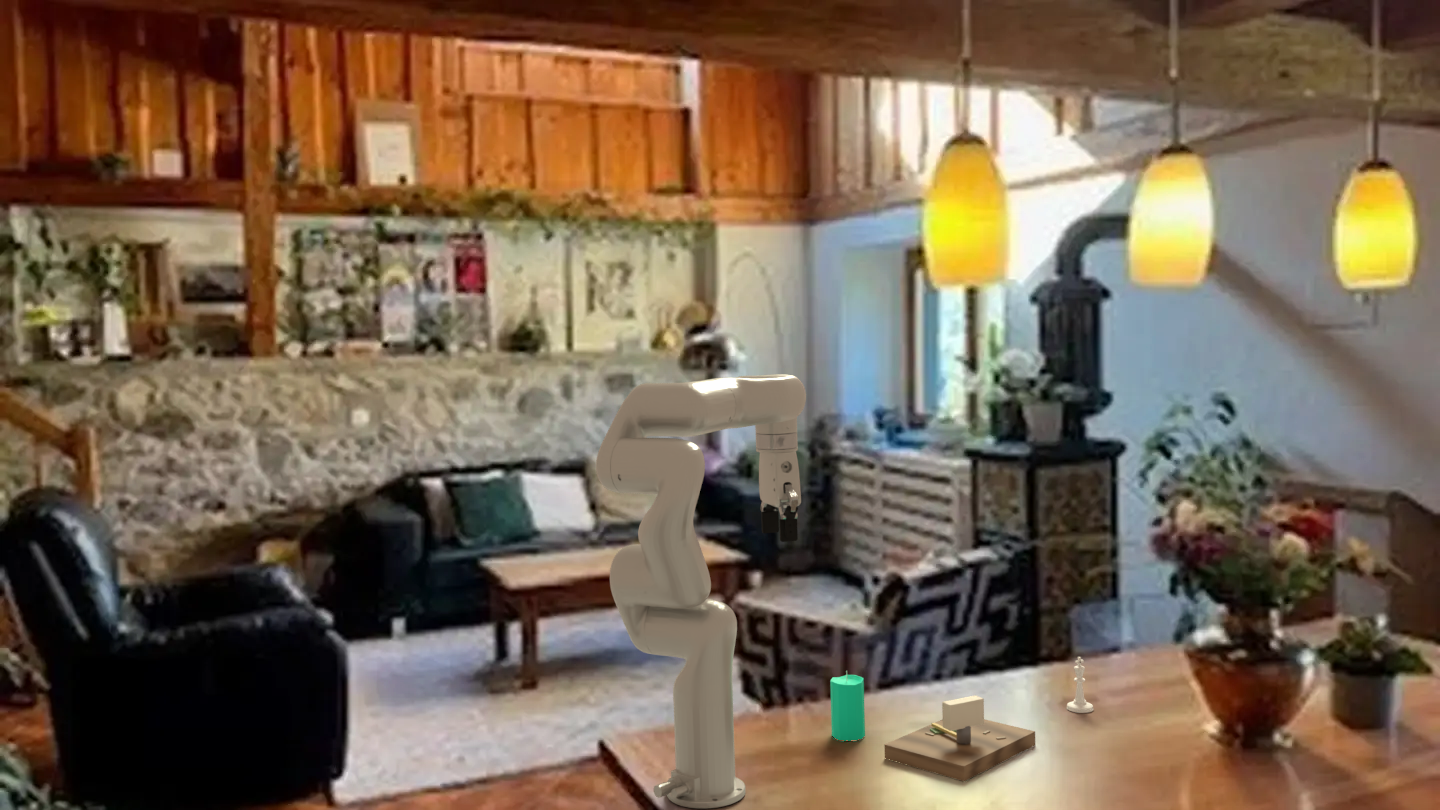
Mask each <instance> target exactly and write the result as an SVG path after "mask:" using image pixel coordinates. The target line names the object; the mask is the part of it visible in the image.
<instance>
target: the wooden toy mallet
mask: <svg viewBox="0 0 1440 810" xmlns="http://www.w3.org/2000/svg"><path fill="white" fill-rule="evenodd" d="M984 702H985V699H984V698H983V697H980V696H979V695H976V694H975V695H971V696H964V697H961V698H955V699H949V700H945V701H942V702H941V703H942V704H941V706H942V707H941V708H942V709H941V710H942V712H941V713H942V714H941V715H942V719H943V726H941V725H939V724H936V723H935V722H931V724H932V727H934V728H936V729H939V730H941V731H943V732H945V733H947V734H949V735H951V736H953V737H955V738H957V743H959V744H969V743H971V727H972V726H977V725H982V724H984V719H985V703H984ZM931 724H930V725H931ZM953 730H956V732H954V731H953Z"/></svg>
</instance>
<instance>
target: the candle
mask: <svg viewBox="0 0 1440 810" xmlns="http://www.w3.org/2000/svg"><path fill="white" fill-rule="evenodd" d="M845 673H846V674H845V675H842V676H837V677H835V676H834V677H832V678H831V679H830V681H829V682H830V685H829V687H830V689H829V690H830V712H831V713H830V717H831V718H830V723H831V737H832V736H833V737H834V738H836V739H838V740H844V741H846V740H848V741H851V740H858V739H862V738H863V737H864V736H865V737H866V723H865V715H866V713H865V682H864V680H865V679H864V677H862V676H859V675H857V674H848V670H846V671H845ZM833 737H832V738H833ZM865 737H864V738H865ZM834 738H833V739H834ZM864 738H863V739H864ZM863 739H862V740H863ZM838 740H837V741H838ZM844 741H843V742H844Z"/></svg>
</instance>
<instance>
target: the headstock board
mask: <svg viewBox="0 0 1440 810" xmlns="http://www.w3.org/2000/svg"><path fill="white" fill-rule="evenodd" d="M934 723H936V724H939V725H941V726H943V718H942V719H939V720H938V721H935V722H934ZM953 731H954V732H956V730H953ZM1035 746H1036V731H1035V730H1030V729H1027V728H1024V727H1023V728H1022V727H1019V726H1013V725H1011V724H1010V725H1009V724H1006V723H1002V722H1001V723H1000V722H998V721H993V720H988V719H985V718H984V724H982V725H977V726H972V727H971V743H969V744H959V743H957V738H955V737H953V736H951V735H949V734H947V733H945V732H943V731H941V730H939V729H936V728H934V727H932V724H929V725H927V726H924V727H922V728H920V729H917V730H915V731H913V732H910V733H908V734H906V735H903V736H901V737H898V738H896V739H893V740H892V741H890V742H887V743H885V744H884V746H883V747H884V759H885V758H886V759H885V760H887V759H890V760H889V761H891V760H893V761H892V762H894V761H897V762H896V763H898V762H900V763H899V764H901V763H902V765H905V764H907V765H906V766H908V765H909V766H908V767H912V768H916V769H920V770H923V771H925V772H930V773H933V774H936V775H937V774H938V775H940V776H944V777H948V778H951V779H955V780H958V781H962V782H965V781H967V780H969V779H972V778H973V777H976V776H978V775H980V774H982V773H984V772H985V771H988V770H989V769H991V768H994V767H996V766H998V765H1000V764H1001V763H1003V762H1005V761H1007V760H1009V759H1011V758H1014V757H1016V756H1017V755H1019V754H1021V753H1023V752H1026V751H1027V750H1029V749H1031V748H1034V747H1035Z"/></svg>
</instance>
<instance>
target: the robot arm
mask: <svg viewBox="0 0 1440 810" xmlns="http://www.w3.org/2000/svg"><path fill="white" fill-rule="evenodd" d="M806 400H807V392H806V388H805V385H804V384H803V382H802V381H801V380H800V379H799V378H798V377H797V376H795V375H792V374H791V375H790V374H784V373H783V374H782V373H779V374H776V373H775V374H763V375H762V374H761V375H760V374H759V375H739V376H735V377H716V378H715V377H714V378H709V379H702V380H695V381H685V382H657V383H656V382H646V383H642V384H638V385H636V386H635V387H634V388H633V389H632V390H631V391H630V392H629V393H628V395H627V396H626V398H624V400H623V402H622V403H621V405H620V407H619V408H618V411H616V414H615V416H614V417H613V420H612V422H611V424H610V426H609V428H608V430H607V433H605V436H604V438H603V440H602V441H601V444H600V447H599V450H598V453H597V455H596V456H597V457H596V462H595V463H596V464H595V473H596V476H597V479H598V481H599V483H600V484H601V486H602V487H603V488H605V489H606V490H607V491H610V492H613V493H617V494H637V495H640V494H642V495H656V497H655V499H654V501H653V503H652V505H651V506H650V507H649V508H648V510H647V511H646V512H645V514H644V515H643V518H642V520H641V521H640V523H639V527H638V531H637V534H638V542H639V544H638V543H637V544H630V545H626V546H625V547H622V548H621V549H620V550H619V551H617V552H616V554H615V555H614V557H613V559H612V561H611V564H610V570H609V587H610V591H611V595H612V598H613V601H614V603H615V606H616V608H617V610H618V613H619V615H620V618H621V620H622V622H623V625H624V627H625V629H626V632H627V634H628V636H629V640H631V642H632V644H633V646H634V647H635V648H636V649H637V650H638V651H640V652H642V653H644V654H648V655H649V654H650V655H655V656H663V657H672V658H673V657H674V658H679V659H684V660H685V665H684V667H682V669H681V671H680V672H679V673H678V675H677V676H676V677H675V680H674V683H673V687H672V700H673V728H674V756H675V759H674V760H675V769H673V770H671V771H670V778H668V780H667V781H666V782H665V781H664V782H661V783H658V784H656V785H654V786H653V793H654V796H655V797H656V798H657V799H659V798H663V797H665V796H666V797H667V799H668V800H669V801H670V802H672V803H673V804H676V805H678V806H680V807H684V808H689V809H700V810H702V809H716V808H721V807H726V806H727V807H728V806H730V805H732V804H735V803H738V801H741V800H742V799H743V798H744V796H745V795H746V784H745V782H744V780H742V779H740V778H738V777H736V760H735V759H736V757H735V756H736V755H735V730H734V729H735V724H734V694H733V693H734V691H733V669H734V668H733V667H734V666H733V665H734V664H733V663H734V653H735V648H736V647H735V646H736V641H737V640H736V639H737V635H738V634H737V633H738V632H737V631H738V620H737V617H736V614H735V612H734V610H733V609H732V608H731V607H730V606H729V605H728V604H726V603H724V602H722V601H720V600H719V601H718V600H716V599H713V598H709V596H710V593H711V590H712V589H711V588H712V581H711V577H710V576H711V575H710V571H709V569H708V565H707V561H706V560H705V557H704V553H703V550H702V548H701V546H700V545H701V544H700V543H699V540H698V537H697V534H696V530H695V527H694V518H695V510H696V507H697V504H698V500H699V496H700V491H701V489H702V484H703V482H704V477H705V471H706V461H705V456H704V453H703V450H702V449H701V448H700V446H699V445H697V444H696V443H694V442H692V441H690V440H686V439H682V438H683V437H684V438H686V437H688V438H689V437H697V436H700V435H705V434H710V433H713V432H718V431H719V432H720V431H723V430H729V429H740V428H749V427H753V426H754V427H755V450H756V451H755V452H757V453H759V459H758V461H759V462H758V491H759V498H760V499H759V500H760V502H761V504H760V511H761V512H760V514H761V515H760V516H761V533H762V534H774V533H776V534H777V533H778V532H779V541H780V542H782V543H785V542H796V541H798V540H799V539H798V537H799V536H798V535H799V534H798V516H799V515H798V510H799V506H800V505H801V503H802V496H801V495H802V493H801V481H800V468H799V461H798V456H797V451H799V447H798V445H799V444H798V416H800V415H801V413H802V412H803V411H804V409H805V405H806V402H807V401H806ZM672 437H673V438H672ZM675 437H677V438H675ZM680 437H681V438H680ZM777 509H778V510H777ZM779 515H780V516H779ZM779 517H780V518H779Z"/></svg>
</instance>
